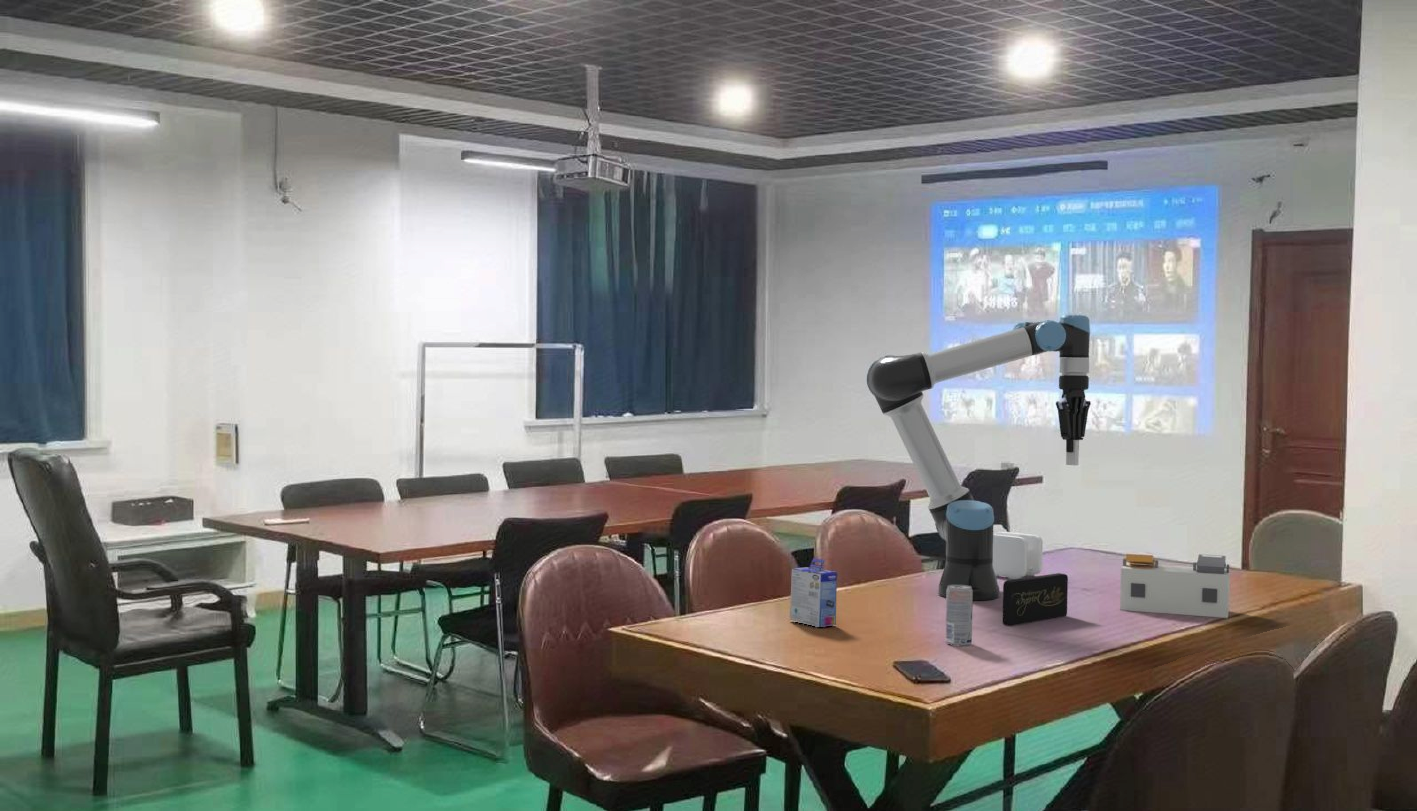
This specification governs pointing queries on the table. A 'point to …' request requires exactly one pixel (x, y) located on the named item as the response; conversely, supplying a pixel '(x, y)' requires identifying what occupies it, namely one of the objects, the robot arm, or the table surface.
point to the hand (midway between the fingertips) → (1072, 464)
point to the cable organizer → (1017, 554)
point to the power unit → (1174, 590)
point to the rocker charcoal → (1211, 564)
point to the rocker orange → (1140, 559)
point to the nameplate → (1035, 599)
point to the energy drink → (959, 615)
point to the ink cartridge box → (813, 595)
